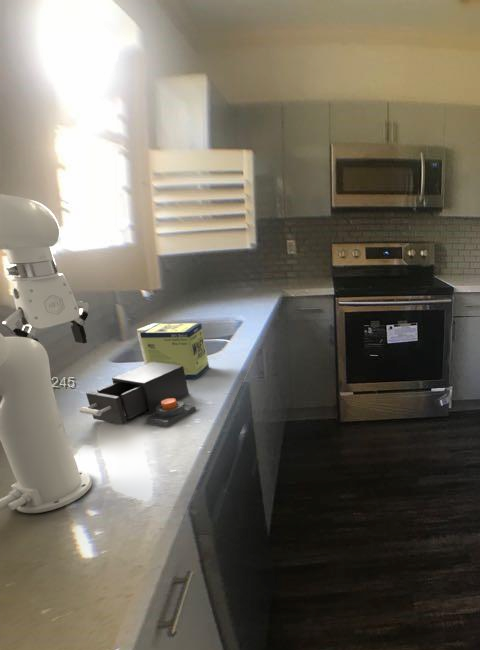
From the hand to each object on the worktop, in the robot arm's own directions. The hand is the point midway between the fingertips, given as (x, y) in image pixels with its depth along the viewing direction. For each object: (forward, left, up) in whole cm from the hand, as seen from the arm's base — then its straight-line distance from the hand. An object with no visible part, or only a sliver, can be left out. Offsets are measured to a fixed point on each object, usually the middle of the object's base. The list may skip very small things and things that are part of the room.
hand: (60, 349), depth 101 cm
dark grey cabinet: (+22, +2, -23) cm, 32 cm away
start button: (+16, -10, -20) cm, 28 cm away
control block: (+16, -10, -23) cm, 30 cm away
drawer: (+12, +2, -22) cm, 25 cm away
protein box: (+42, +12, -23) cm, 50 cm away
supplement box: (+48, +28, -23) cm, 61 cm away
